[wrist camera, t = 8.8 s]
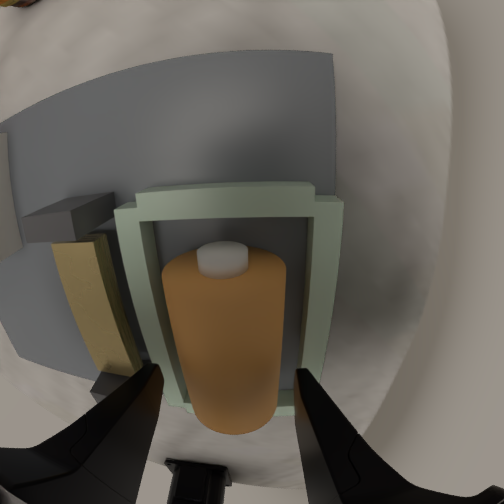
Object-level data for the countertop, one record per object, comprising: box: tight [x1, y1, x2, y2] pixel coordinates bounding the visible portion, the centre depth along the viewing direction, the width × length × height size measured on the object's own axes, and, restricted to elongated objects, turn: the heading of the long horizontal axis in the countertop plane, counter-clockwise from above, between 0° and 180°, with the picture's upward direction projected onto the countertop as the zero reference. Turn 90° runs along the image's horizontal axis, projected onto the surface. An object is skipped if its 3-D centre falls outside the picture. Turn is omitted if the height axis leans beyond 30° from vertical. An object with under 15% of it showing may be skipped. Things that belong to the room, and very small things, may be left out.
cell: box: [162, 241, 286, 435], centre depth 10 cm, size 8×4×4 cm, turn 1°
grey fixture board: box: [0, 50, 344, 416], centre depth 10 cm, size 17×23×4 cm
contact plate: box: [51, 233, 143, 377], centre depth 11 cm, size 7×2×1 cm, turn 2°
